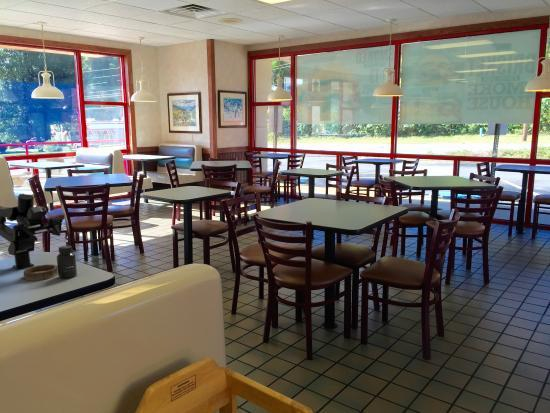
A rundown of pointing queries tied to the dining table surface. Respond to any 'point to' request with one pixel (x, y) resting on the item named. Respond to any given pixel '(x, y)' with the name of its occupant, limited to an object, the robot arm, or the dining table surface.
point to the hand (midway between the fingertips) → (48, 237)
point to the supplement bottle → (66, 263)
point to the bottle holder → (40, 272)
